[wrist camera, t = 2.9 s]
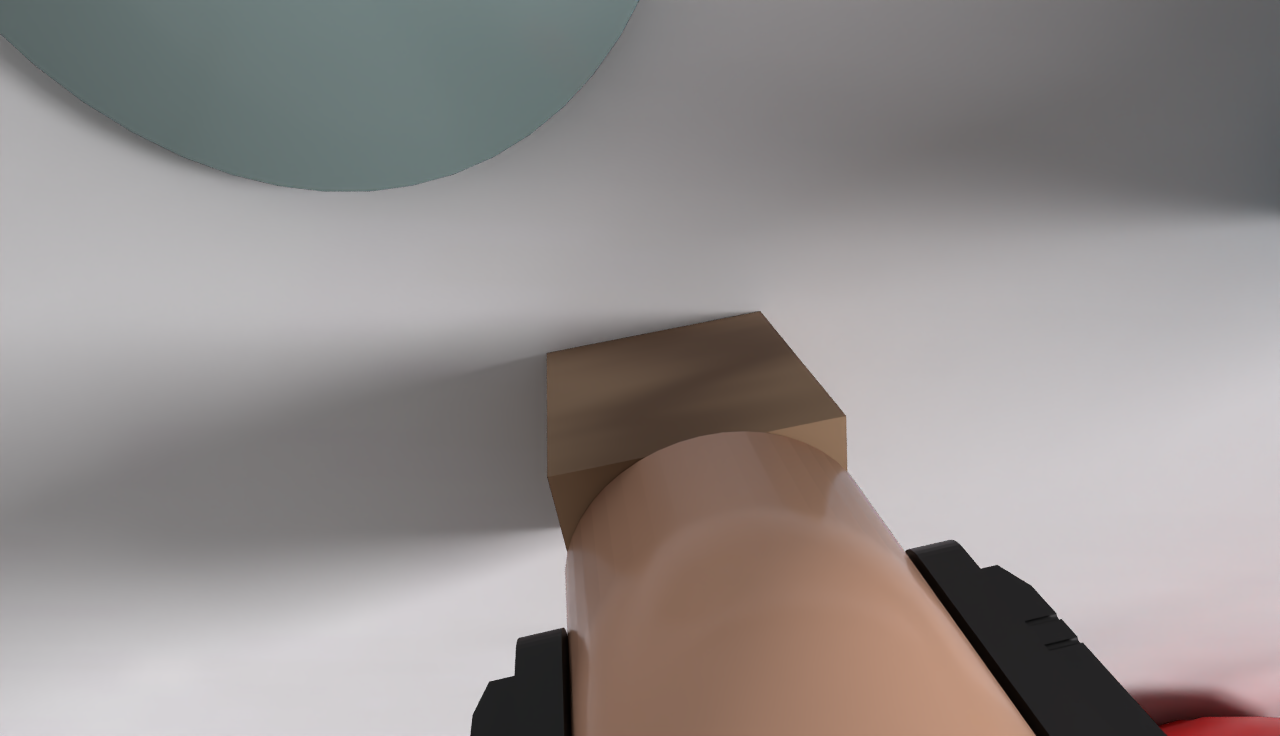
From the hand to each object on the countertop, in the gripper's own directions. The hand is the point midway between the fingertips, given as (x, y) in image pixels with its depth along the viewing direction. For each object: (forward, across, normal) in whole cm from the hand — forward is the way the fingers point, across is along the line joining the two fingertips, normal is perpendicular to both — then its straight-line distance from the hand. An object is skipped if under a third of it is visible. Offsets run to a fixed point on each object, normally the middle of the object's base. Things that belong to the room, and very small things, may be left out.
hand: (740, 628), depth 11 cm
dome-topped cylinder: (+1, 0, 0) cm, 1 cm away
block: (+6, 0, 0) cm, 6 cm away
